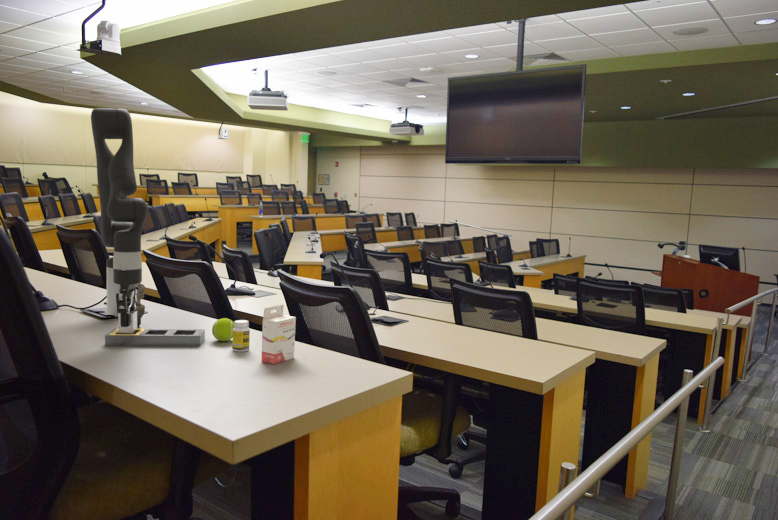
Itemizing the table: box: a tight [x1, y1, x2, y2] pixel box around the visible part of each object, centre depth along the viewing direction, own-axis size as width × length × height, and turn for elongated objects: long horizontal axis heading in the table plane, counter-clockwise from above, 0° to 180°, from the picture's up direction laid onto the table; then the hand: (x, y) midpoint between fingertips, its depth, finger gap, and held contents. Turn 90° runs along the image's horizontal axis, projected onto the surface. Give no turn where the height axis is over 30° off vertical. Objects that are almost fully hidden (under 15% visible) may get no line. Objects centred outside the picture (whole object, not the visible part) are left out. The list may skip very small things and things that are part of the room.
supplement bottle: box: [232, 319, 251, 353], centre depth 161 cm, size 5×5×8 cm
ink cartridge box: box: [261, 304, 297, 365], centre depth 152 cm, size 9×5×15 cm, turn 152°
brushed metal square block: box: [117, 311, 138, 334], centre depth 163 cm, size 4×4×9 cm
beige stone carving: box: [133, 282, 146, 328], centre depth 181 cm, size 6×6×15 cm
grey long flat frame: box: [104, 328, 206, 347], centre depth 165 cm, size 8×26×3 cm, turn 99°
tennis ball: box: [211, 317, 235, 342], centre depth 170 cm, size 7×7×7 cm
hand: (127, 324), depth 163 cm, fingers open, 5 cm apart
